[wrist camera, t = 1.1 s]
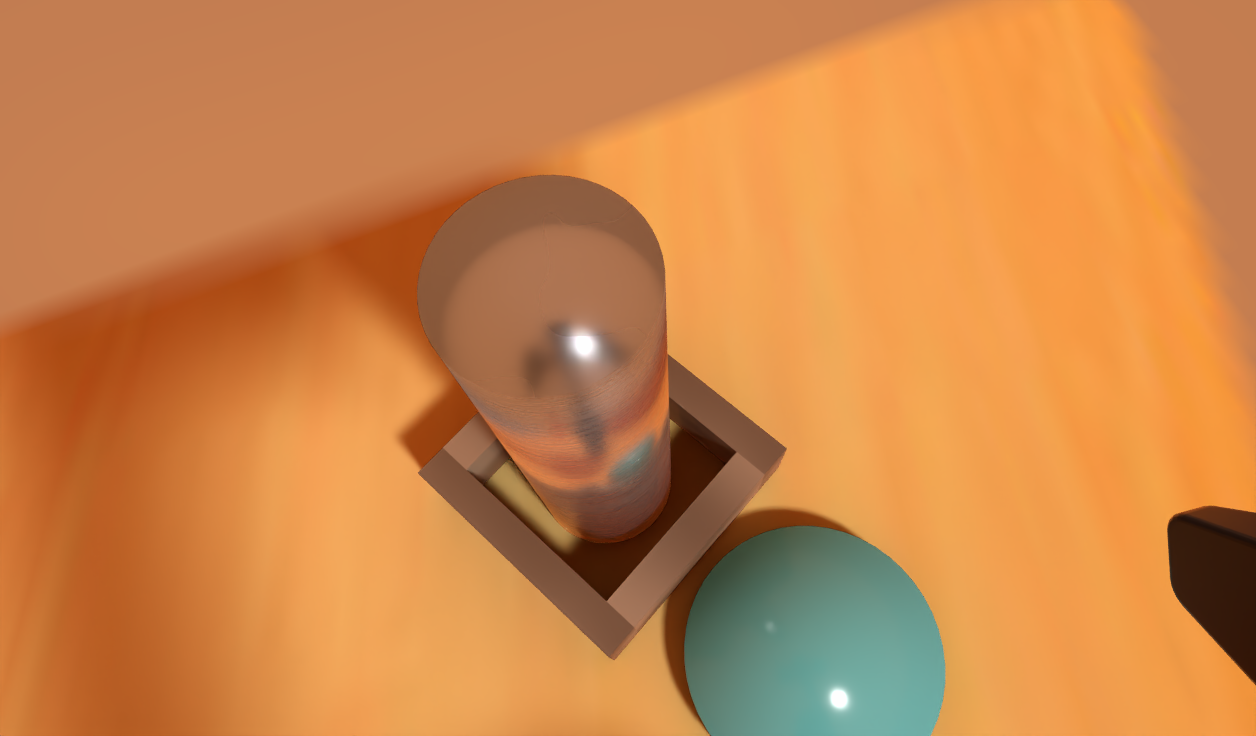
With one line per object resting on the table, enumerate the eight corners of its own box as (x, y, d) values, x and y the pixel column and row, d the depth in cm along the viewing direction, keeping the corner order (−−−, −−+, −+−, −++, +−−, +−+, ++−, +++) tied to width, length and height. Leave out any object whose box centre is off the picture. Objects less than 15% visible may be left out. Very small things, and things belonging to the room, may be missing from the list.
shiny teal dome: (834, 858, 21) (840, 864, 20) (632, 665, 23) (631, 664, 22) (986, 645, 23) (996, 643, 22) (786, 483, 25) (789, 476, 24)
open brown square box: (614, 659, 23) (608, 657, 21) (436, 489, 25) (417, 473, 23) (778, 466, 25) (786, 448, 23) (599, 322, 27) (593, 295, 25)
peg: (610, 571, 24) (542, 449, 12) (515, 483, 25) (366, 292, 13) (698, 472, 25) (716, 266, 13) (602, 392, 26) (538, 135, 14)
